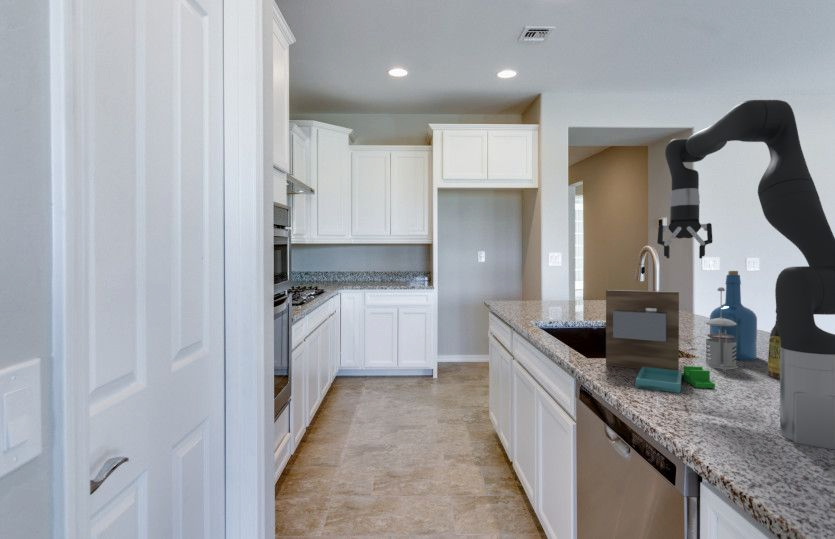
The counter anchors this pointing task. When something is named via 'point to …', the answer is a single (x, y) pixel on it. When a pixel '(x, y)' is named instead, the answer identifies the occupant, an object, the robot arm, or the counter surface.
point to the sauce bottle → (774, 353)
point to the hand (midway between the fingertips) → (684, 258)
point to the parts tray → (659, 379)
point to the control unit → (640, 324)
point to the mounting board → (643, 351)
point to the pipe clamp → (697, 377)
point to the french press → (721, 344)
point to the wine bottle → (737, 320)
